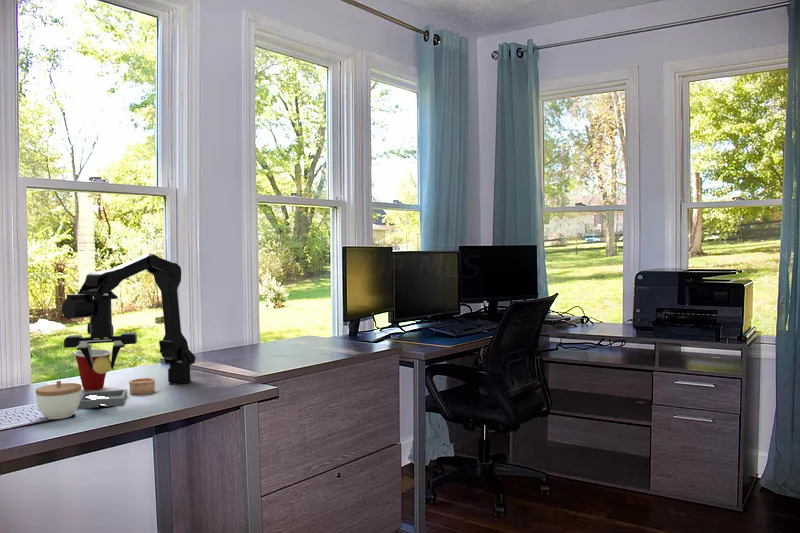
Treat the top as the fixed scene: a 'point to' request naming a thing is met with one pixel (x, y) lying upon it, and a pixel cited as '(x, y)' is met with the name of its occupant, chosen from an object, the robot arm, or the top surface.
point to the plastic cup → (88, 377)
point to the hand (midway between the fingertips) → (102, 369)
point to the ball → (102, 365)
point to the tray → (114, 399)
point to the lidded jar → (58, 399)
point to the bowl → (142, 386)
